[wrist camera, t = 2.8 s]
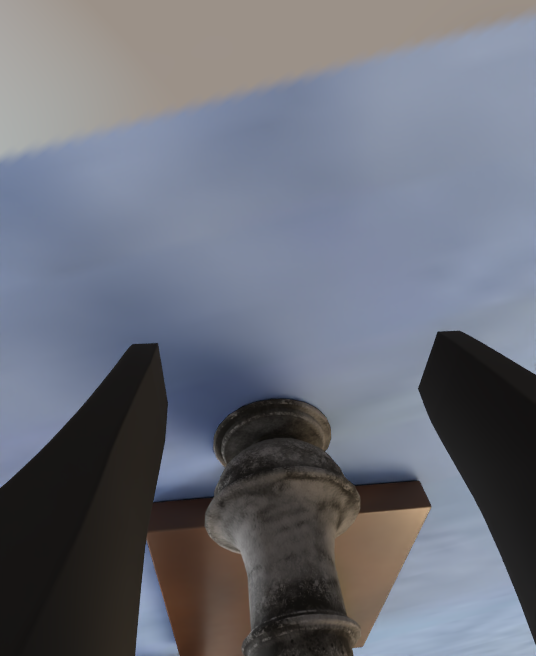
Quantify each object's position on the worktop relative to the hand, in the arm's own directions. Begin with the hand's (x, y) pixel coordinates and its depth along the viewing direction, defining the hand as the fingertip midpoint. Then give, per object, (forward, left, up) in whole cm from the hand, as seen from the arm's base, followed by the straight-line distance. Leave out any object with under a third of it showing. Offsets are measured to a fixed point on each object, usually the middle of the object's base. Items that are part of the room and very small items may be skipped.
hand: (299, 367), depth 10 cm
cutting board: (+1, -21, -4) cm, 22 cm away
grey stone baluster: (0, -7, -4) cm, 8 cm away
